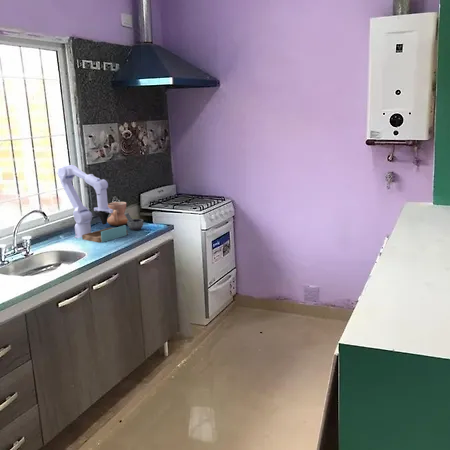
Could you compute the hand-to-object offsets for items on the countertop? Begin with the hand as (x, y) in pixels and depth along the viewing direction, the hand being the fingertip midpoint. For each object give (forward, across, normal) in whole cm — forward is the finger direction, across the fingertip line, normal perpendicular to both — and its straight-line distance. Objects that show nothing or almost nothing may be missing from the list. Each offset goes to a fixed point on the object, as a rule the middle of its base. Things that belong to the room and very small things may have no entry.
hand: (104, 224), depth 308 cm
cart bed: (+9, 0, 0) cm, 9 cm away
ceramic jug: (+9, +23, -30) cm, 39 cm away
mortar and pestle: (+9, -1, -22) cm, 24 cm away
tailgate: (+8, -7, 0) cm, 11 cm away
